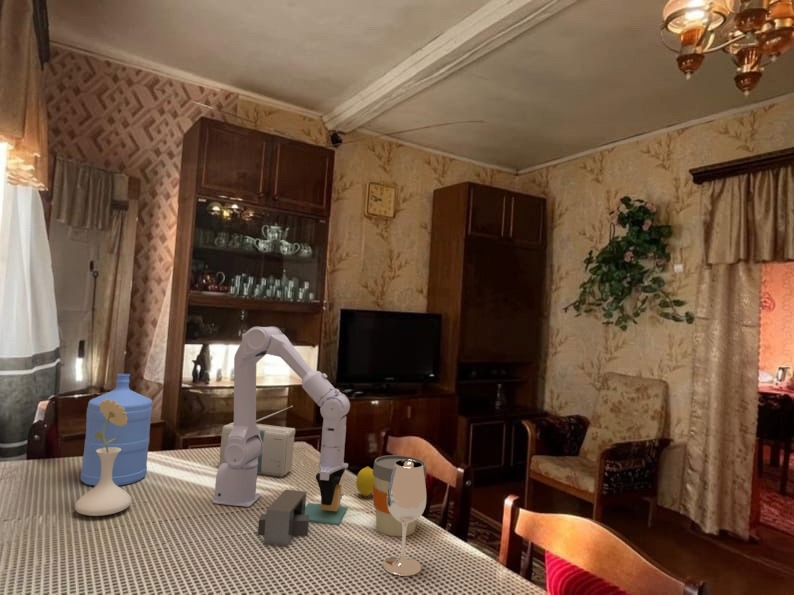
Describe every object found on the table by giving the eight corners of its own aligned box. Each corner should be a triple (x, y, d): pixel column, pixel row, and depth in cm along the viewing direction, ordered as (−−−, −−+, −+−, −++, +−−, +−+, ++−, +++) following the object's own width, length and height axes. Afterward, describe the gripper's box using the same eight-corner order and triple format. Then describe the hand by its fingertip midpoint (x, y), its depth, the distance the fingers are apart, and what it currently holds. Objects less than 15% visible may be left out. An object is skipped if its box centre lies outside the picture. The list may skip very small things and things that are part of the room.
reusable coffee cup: (386, 513, 126) (391, 452, 126) (432, 526, 119) (436, 462, 120) (358, 529, 115) (362, 462, 116) (406, 545, 109) (410, 474, 109)
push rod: (257, 536, 109) (258, 519, 109) (259, 529, 112) (261, 513, 112) (307, 537, 110) (308, 520, 110) (308, 530, 113) (309, 515, 113)
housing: (263, 543, 105) (266, 509, 105) (283, 520, 117) (285, 489, 117) (287, 546, 104) (289, 512, 104) (304, 522, 117) (306, 491, 117)
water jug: (158, 478, 139) (167, 376, 141) (99, 492, 126) (110, 379, 127) (126, 465, 148) (135, 369, 149) (68, 478, 134) (78, 372, 136)
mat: (296, 520, 117) (296, 518, 118) (308, 504, 127) (308, 502, 127) (338, 525, 116) (339, 522, 117) (347, 509, 126) (347, 507, 126)
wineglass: (381, 556, 103) (387, 457, 103) (419, 557, 103) (425, 458, 104) (383, 576, 95) (390, 468, 96) (424, 577, 95) (431, 470, 96)
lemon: (373, 501, 133) (375, 470, 133) (352, 498, 134) (355, 468, 134) (377, 494, 138) (380, 465, 139) (358, 491, 139) (360, 462, 140)
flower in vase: (139, 512, 116) (148, 402, 117) (82, 525, 107) (93, 406, 108) (118, 496, 125) (128, 394, 126) (65, 506, 116) (75, 397, 117)
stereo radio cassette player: (217, 470, 150) (223, 402, 151) (232, 462, 158) (237, 398, 159) (282, 479, 145) (288, 409, 146) (294, 471, 153) (299, 405, 154)
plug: (320, 509, 121) (321, 488, 121) (324, 503, 125) (325, 483, 125) (340, 511, 121) (341, 490, 121) (343, 505, 125) (344, 485, 125)
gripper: (343, 454, 116) (338, 514, 115) (354, 439, 130) (350, 492, 130) (313, 451, 117) (308, 510, 116) (327, 436, 131) (323, 490, 130)
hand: (328, 501), depth 123 cm, fingers closed on plug, 4 cm apart
